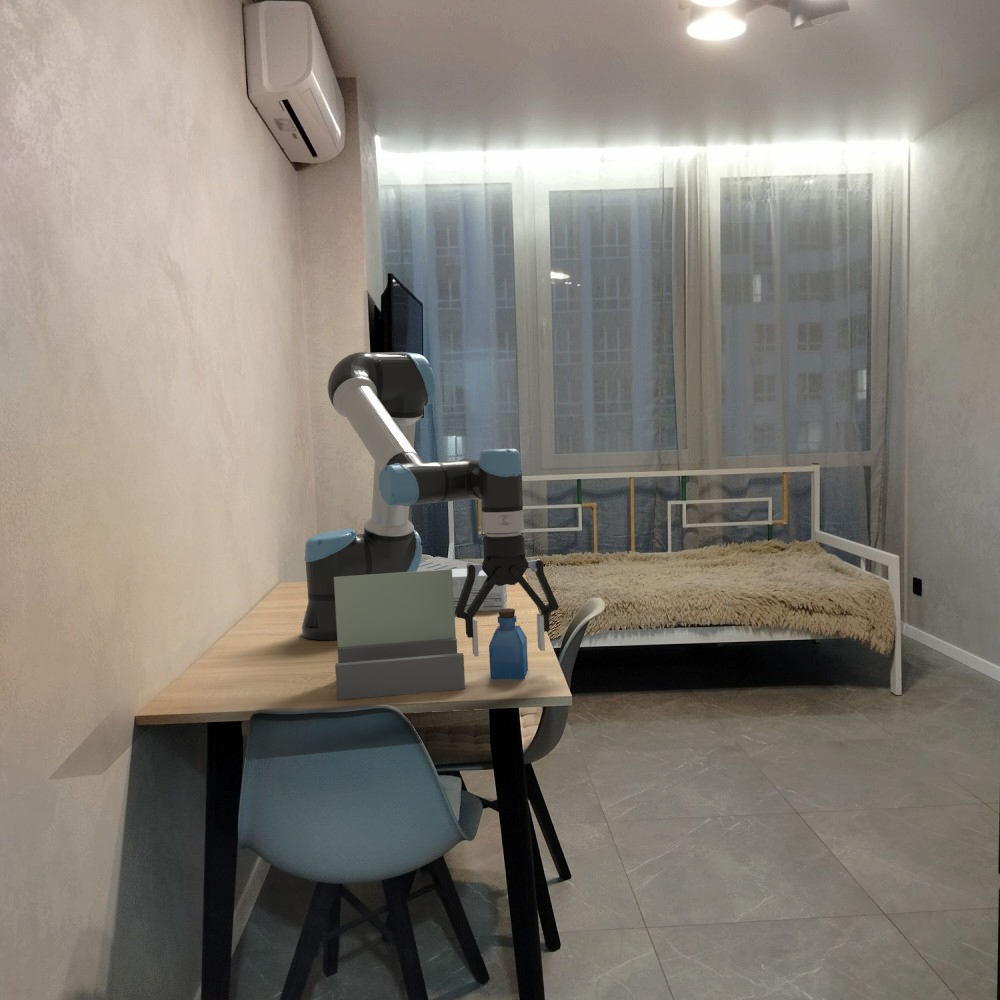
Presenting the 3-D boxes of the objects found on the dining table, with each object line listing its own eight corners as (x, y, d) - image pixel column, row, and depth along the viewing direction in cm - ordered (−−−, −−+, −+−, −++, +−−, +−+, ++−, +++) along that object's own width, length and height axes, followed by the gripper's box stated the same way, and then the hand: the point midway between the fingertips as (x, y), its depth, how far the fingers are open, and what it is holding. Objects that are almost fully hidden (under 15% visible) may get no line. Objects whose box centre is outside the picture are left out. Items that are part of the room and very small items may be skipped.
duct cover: (337, 648, 160) (338, 647, 161) (455, 639, 163) (455, 638, 164) (333, 577, 160) (334, 577, 161) (451, 569, 163) (451, 569, 164)
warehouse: (398, 587, 259) (396, 562, 258) (438, 580, 267) (437, 556, 267) (451, 600, 234) (450, 572, 234) (494, 592, 243) (493, 565, 242)
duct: (339, 679, 160) (337, 647, 160) (457, 669, 163) (455, 638, 163) (337, 700, 147) (335, 665, 147) (465, 688, 150) (463, 655, 150)
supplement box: (507, 600, 229) (505, 565, 228) (504, 611, 216) (503, 574, 215) (444, 602, 230) (442, 568, 229) (438, 613, 217) (436, 576, 216)
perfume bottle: (524, 679, 155) (521, 613, 154) (490, 679, 156) (487, 614, 155) (527, 669, 161) (525, 606, 160) (495, 670, 162) (492, 607, 161)
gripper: (439, 540, 151) (445, 662, 152) (572, 532, 154) (577, 651, 156) (436, 535, 158) (442, 652, 160) (563, 527, 162) (567, 641, 163)
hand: (508, 651), depth 158 cm, fingers open, 11 cm apart
